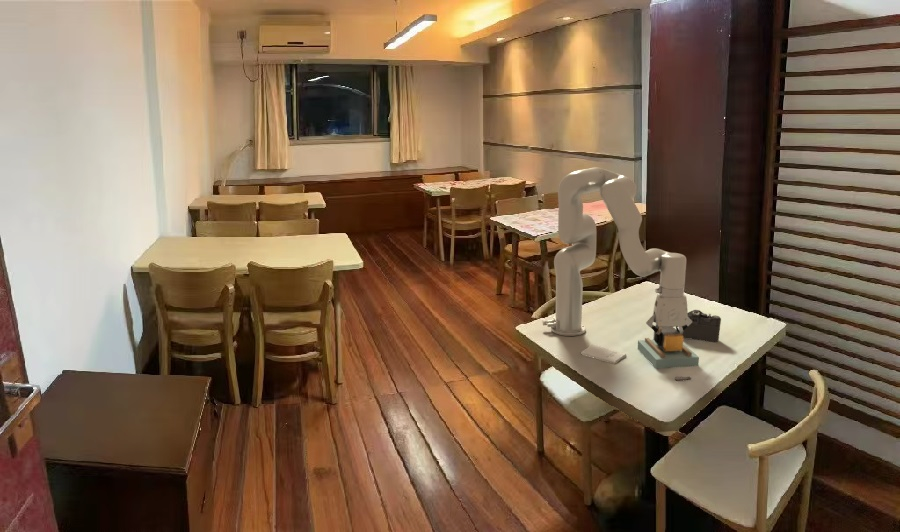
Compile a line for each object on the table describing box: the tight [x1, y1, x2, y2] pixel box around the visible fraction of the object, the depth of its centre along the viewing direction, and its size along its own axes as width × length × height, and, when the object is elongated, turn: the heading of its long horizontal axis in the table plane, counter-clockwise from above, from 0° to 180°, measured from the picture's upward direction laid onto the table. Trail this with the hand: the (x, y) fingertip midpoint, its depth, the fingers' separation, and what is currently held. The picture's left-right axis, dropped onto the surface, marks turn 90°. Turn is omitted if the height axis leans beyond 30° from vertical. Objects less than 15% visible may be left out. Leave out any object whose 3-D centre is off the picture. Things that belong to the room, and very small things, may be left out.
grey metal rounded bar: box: [674, 375, 693, 382], centre depth 195 cm, size 5×1×1 cm, turn 94°
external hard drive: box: [580, 344, 627, 365], centre depth 214 cm, size 2×8×12 cm
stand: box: [637, 337, 700, 369], centre depth 211 cm, size 14×16×4 cm
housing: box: [652, 327, 684, 351], centre depth 209 cm, size 10×6×5 cm, turn 4°
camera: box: [682, 309, 722, 343], centre depth 227 cm, size 14×11×10 cm
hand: (667, 343), depth 210 cm, fingers closed on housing, 5 cm apart
